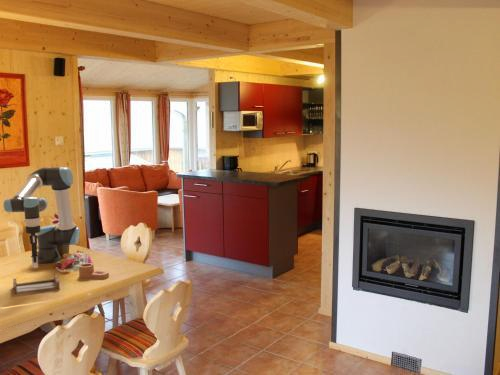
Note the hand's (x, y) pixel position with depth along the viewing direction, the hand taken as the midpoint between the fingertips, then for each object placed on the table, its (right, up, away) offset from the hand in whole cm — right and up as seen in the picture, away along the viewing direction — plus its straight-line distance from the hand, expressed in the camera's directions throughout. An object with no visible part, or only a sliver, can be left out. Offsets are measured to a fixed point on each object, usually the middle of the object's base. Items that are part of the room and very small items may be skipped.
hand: (35, 266), depth 276 cm
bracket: (+26, -10, +23) cm, 36 cm away
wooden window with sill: (0, -12, +2) cm, 13 cm away
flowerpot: (-13, -4, +72) cm, 74 cm away
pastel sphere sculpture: (+6, -8, +45) cm, 46 cm away
